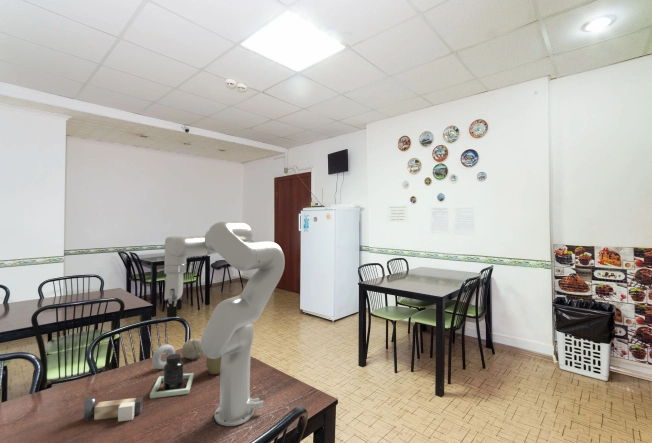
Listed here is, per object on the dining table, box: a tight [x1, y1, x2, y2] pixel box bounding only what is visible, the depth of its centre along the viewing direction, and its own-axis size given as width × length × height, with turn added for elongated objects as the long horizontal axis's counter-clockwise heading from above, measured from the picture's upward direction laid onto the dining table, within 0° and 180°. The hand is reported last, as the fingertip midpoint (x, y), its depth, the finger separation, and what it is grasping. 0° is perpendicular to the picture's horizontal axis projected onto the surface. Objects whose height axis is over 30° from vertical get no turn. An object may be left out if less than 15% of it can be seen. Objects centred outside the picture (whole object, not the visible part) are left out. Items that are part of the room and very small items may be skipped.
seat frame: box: [149, 372, 195, 399], centre depth 119 cm, size 13×13×2 cm
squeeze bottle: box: [206, 357, 222, 375], centre depth 132 cm, size 8×8×18 cm
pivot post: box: [82, 396, 96, 422], centre depth 100 cm, size 3×3×6 cm
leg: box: [93, 396, 144, 421], centre depth 102 cm, size 13×3×4 cm, turn 105°
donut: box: [151, 343, 176, 370], centre depth 133 cm, size 10×4×10 cm, turn 149°
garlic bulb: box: [181, 338, 203, 361], centre depth 144 cm, size 9×8×10 cm
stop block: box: [117, 402, 135, 422], centre depth 100 cm, size 4×2×4 cm, turn 106°
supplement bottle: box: [162, 353, 184, 391], centre depth 119 cm, size 7×7×12 cm
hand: (174, 313), depth 119 cm, fingers open, 9 cm apart
